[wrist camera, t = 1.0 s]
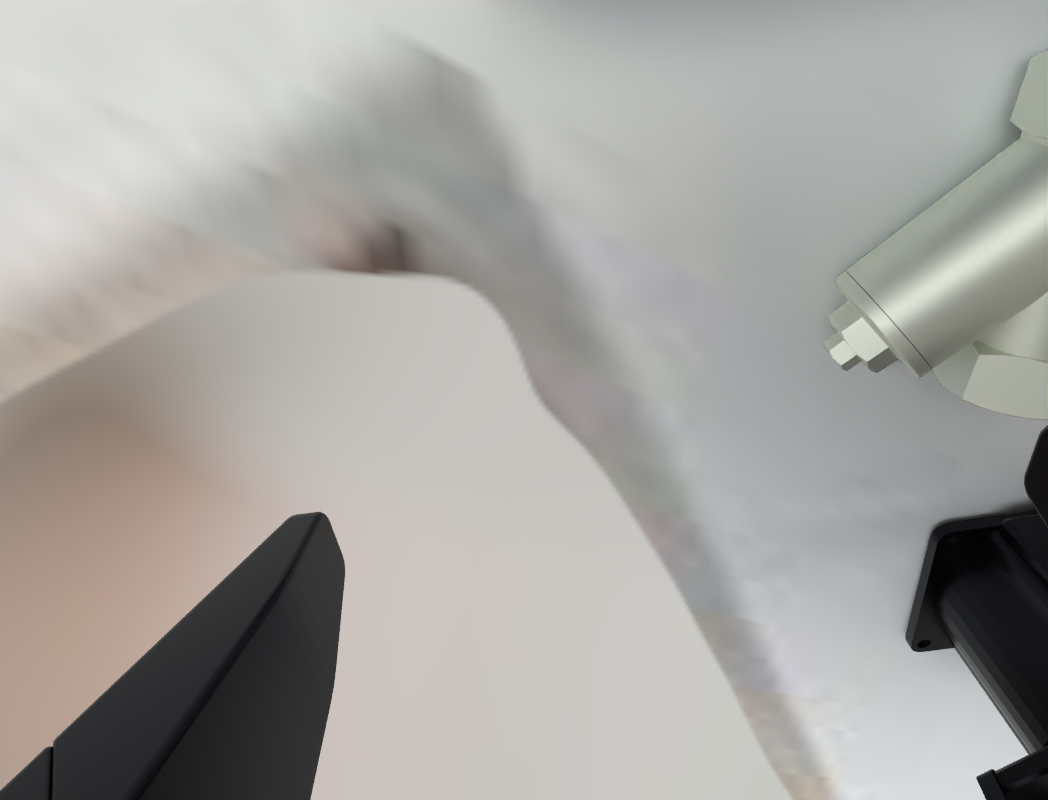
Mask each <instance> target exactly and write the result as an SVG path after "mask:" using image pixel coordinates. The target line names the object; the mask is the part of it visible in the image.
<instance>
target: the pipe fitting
mask: <svg viewBox="0 0 1048 800" xmlns="http://www.w3.org/2000/svg"><path fill="white" fill-rule="evenodd" d="M1010 121H1011V122H1012V123H1013V124H1014V125H1015V126H1016V127H1018V128H1019V129H1020V130H1022V132H1021V135H1020V138H1019V139H1018V140H1016V141H1015V142H1014V143H1012V144H1011V145H1010V146H1009V147H1007V148H1006V149H1005V150H1003V151H1002V152H1001V153H999V154H998V155H997V156H995V157H994V158H993V159H991V160H990V161H989V162H987V163H986V164H985V165H984V166H982V167H981V168H980V169H978V170H977V171H976V172H974V173H973V174H972V175H970V176H969V177H968V178H966V179H965V180H964V181H963V182H961V183H960V184H959V185H957V186H956V187H955V188H953V189H952V190H951V191H949V192H948V193H947V194H945V195H944V196H943V197H941V198H940V199H939V200H938V201H936V202H935V203H934V204H932V205H931V206H930V207H928V208H927V209H926V210H924V211H923V212H922V213H920V214H919V215H918V216H917V217H915V218H914V219H913V220H911V221H910V222H909V223H907V224H906V225H905V226H903V227H902V228H901V229H899V230H898V231H897V232H895V233H894V234H893V235H892V236H890V237H889V238H888V239H886V240H885V241H884V242H882V243H881V244H880V245H878V246H877V247H876V248H874V249H873V250H872V251H871V252H869V253H868V254H867V255H865V256H864V257H863V258H861V259H860V260H859V261H857V262H856V263H855V264H853V265H852V266H851V267H849V268H848V269H847V270H846V271H844V272H843V273H842V274H840V275H839V276H838V277H836V278H835V279H834V283H835V284H836V285H837V287H838V288H839V289H840V290H841V291H842V293H843V294H844V295H845V296H846V297H847V299H848V301H847V302H846V303H844V304H843V305H842V306H840V307H839V308H838V309H836V310H835V311H834V312H832V313H831V314H830V315H828V318H829V322H830V323H831V325H832V326H833V327H834V328H835V330H836V331H837V332H836V333H835V334H834V335H832V336H831V337H830V338H828V339H827V340H825V341H824V342H823V346H824V348H825V349H826V350H827V351H828V353H829V354H830V355H831V356H832V358H833V359H834V360H835V361H836V362H837V363H838V364H839V366H840V367H841V368H842V369H843V370H846V371H847V370H849V369H850V368H852V367H853V366H854V365H856V364H857V363H859V362H860V361H863V362H864V363H865V365H866V366H867V367H868V368H869V369H870V370H871V371H873V372H877V373H878V372H879V371H881V370H882V369H884V368H885V367H887V366H888V365H890V364H891V363H893V362H894V361H896V360H897V359H901V361H902V362H903V363H904V364H905V365H906V366H907V367H908V368H909V369H910V370H911V371H912V373H913V374H914V375H915V376H917V377H922V376H923V375H925V374H926V373H928V372H929V371H932V372H933V374H934V375H935V377H936V378H937V379H938V381H939V382H940V383H941V384H942V385H943V386H944V387H945V388H946V389H947V390H949V391H950V392H951V393H953V394H954V395H956V396H958V397H960V398H961V399H963V400H965V401H968V402H970V403H972V404H974V405H977V406H979V407H982V408H985V409H988V410H991V411H994V412H998V413H1002V414H1006V415H1011V416H1016V417H1022V418H1030V419H1041V420H1048V50H1046V51H1044V52H1041V53H1039V54H1037V55H1035V56H1033V57H1031V60H1030V63H1029V66H1028V69H1027V72H1026V75H1025V78H1024V80H1023V83H1022V86H1021V89H1020V92H1019V95H1018V98H1017V101H1016V104H1015V107H1014V109H1013V112H1012V115H1011V118H1010Z"/></svg>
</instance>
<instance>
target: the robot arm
mask: <svg viewBox="0 0 1048 800" xmlns="http://www.w3.org/2000/svg"><path fill="white" fill-rule="evenodd" d="M1024 485H1025V490H1026V493H1027V495H1028V497H1029V499H1030V500H1031V502H1032V503H1033V505H1034V507H1035V508H1036V510H1037V511H1034V512H1027V513H1020V514H1012V515H1005V516H998V517H991V518H983V519H976V520H969V521H962V522H954V523H947V524H944V525H941V526H939V527H937V528H936V529H935V530H934V531H933V532H932V534H931V536H930V540H929V544H928V548H927V552H926V556H925V560H924V564H923V568H922V572H921V576H920V580H919V584H918V588H917V592H916V597H915V601H914V605H913V609H912V613H911V617H910V621H909V625H908V629H907V633H906V641H907V643H908V644H909V646H910V647H911V649H912V650H913V651H916V652H925V651H932V650H940V649H948V648H955V649H956V651H957V652H958V654H959V655H960V657H961V658H962V659H963V661H964V662H965V664H966V665H967V667H968V668H969V669H970V671H971V672H972V674H973V675H974V677H975V678H976V680H977V681H978V682H979V684H980V685H981V687H982V688H983V690H984V691H985V692H986V694H987V695H988V697H989V698H990V700H991V701H992V703H993V704H994V705H995V707H996V708H997V710H998V711H999V713H1000V714H1001V715H1002V717H1003V718H1004V720H1005V721H1006V723H1007V724H1008V726H1009V727H1010V728H1011V730H1012V731H1013V733H1014V734H1015V736H1016V737H1017V738H1018V740H1019V741H1020V743H1021V744H1022V746H1023V747H1024V749H1025V750H1026V751H1027V753H1028V754H1029V755H1027V756H1025V757H1023V758H1021V759H1019V760H1017V761H1015V762H1013V763H1011V764H1009V765H1007V766H1005V767H1003V768H1001V769H999V770H997V771H995V770H993V769H991V770H989V771H987V772H985V773H983V774H981V775H979V776H977V781H978V783H979V785H980V787H981V789H982V791H983V794H984V796H985V798H986V800H1048V426H1046V427H1045V428H1044V429H1043V430H1042V431H1041V432H1040V434H1039V437H1038V439H1037V442H1036V445H1035V448H1034V450H1033V453H1032V456H1031V459H1030V461H1029V464H1028V467H1027V470H1026V472H1025V476H1024ZM344 579H345V565H344V559H343V555H342V553H341V550H340V548H339V545H338V542H337V539H336V537H335V534H334V532H333V529H332V526H331V524H330V521H329V519H328V517H327V516H326V515H325V514H323V513H321V512H314V513H306V514H298V515H294V516H291V517H290V518H288V519H287V520H286V521H285V522H284V523H283V524H282V525H281V526H280V527H279V528H278V529H277V530H275V531H274V532H273V533H272V534H271V535H270V536H269V537H268V538H267V539H266V540H265V541H264V542H263V543H262V544H261V545H260V546H259V547H258V548H257V549H255V550H254V551H253V552H252V553H251V554H250V555H249V556H248V557H247V558H246V559H245V560H244V561H243V562H242V563H241V564H240V565H239V566H237V568H235V569H234V570H233V571H232V572H231V573H230V574H229V575H228V576H227V577H226V578H225V579H224V580H223V581H222V582H221V583H220V584H218V585H217V586H216V587H215V588H214V589H213V590H212V591H211V592H210V593H209V594H208V595H207V596H206V597H205V598H204V599H203V600H202V601H201V602H199V603H198V604H197V605H196V606H195V607H194V608H193V609H192V610H191V611H190V612H189V613H188V614H187V615H186V616H185V617H184V618H183V619H182V620H180V621H179V622H178V623H177V624H176V625H175V626H174V627H173V628H172V629H171V630H170V631H169V632H168V633H167V634H166V635H165V636H164V637H162V638H161V640H159V641H158V642H157V643H156V644H155V645H154V646H153V647H152V648H151V649H150V650H149V651H148V652H147V653H146V654H145V655H144V656H142V657H141V658H140V659H139V660H138V661H137V662H136V663H135V664H134V665H133V666H132V667H131V668H130V669H129V670H128V671H127V672H126V673H125V674H123V675H122V676H121V677H120V678H119V679H118V680H117V681H116V682H115V683H114V684H113V685H112V686H111V687H110V688H109V689H108V690H107V691H105V692H104V693H103V694H102V695H101V696H100V697H99V698H98V699H97V700H96V701H95V702H94V703H93V704H92V705H91V706H90V707H89V708H88V709H87V710H85V711H84V712H83V713H82V714H81V715H80V716H79V717H78V718H77V719H76V720H75V721H74V722H73V723H72V724H71V725H70V726H68V727H67V728H66V729H65V730H64V731H63V732H62V733H61V734H60V735H59V736H58V737H57V738H56V739H55V740H54V742H53V747H46V748H45V749H44V750H43V751H42V752H41V753H40V754H39V755H38V756H37V757H35V758H34V759H33V760H32V761H31V762H30V763H29V764H28V765H27V766H26V767H25V768H24V769H23V770H22V771H21V772H20V773H19V774H18V775H16V777H14V778H13V779H12V780H11V781H10V782H9V783H8V784H7V785H6V786H5V787H4V788H2V789H1V790H0V800H310V798H311V794H312V789H313V784H314V779H315V775H316V770H317V765H318V761H319V756H320V751H321V746H322V742H323V737H324V732H325V728H326V722H327V717H328V714H329V709H330V704H331V699H332V693H333V688H334V680H335V672H336V663H337V652H338V642H339V632H340V621H341V610H342V600H343V590H344Z"/></svg>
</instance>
